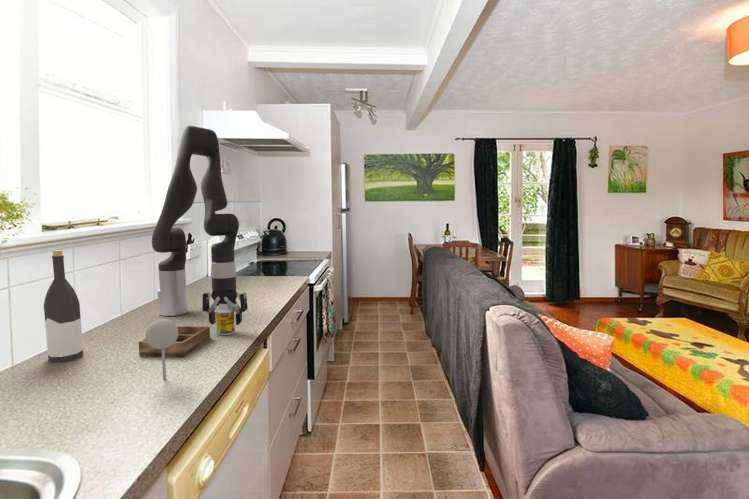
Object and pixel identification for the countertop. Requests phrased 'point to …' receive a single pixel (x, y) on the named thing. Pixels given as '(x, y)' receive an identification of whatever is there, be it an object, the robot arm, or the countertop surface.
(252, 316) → the countertop surface
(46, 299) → the wine bottle
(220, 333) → the supplement bottle
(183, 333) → the walnut crate
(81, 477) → the countertop surface
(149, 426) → the countertop surface
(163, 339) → the lollipop
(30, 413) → the countertop surface
